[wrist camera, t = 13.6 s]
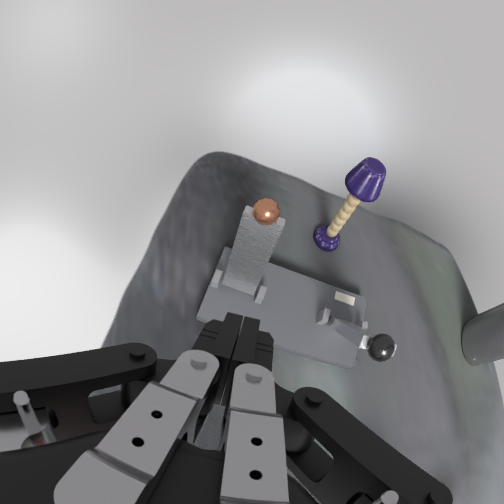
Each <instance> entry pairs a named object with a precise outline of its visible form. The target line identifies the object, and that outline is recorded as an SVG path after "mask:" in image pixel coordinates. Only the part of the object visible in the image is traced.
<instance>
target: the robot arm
mask: <svg viewBox="0 0 504 504" xmlns="http://www.w3.org/2000/svg"><path fill="white" fill-rule="evenodd" d="M242 320H243V315H239V314H235V313H231V312H227V314H226V317H225V319H224V321H219V320H215V319H213V320H211V321H209V322H207V323H206V324H205V326H204V328H203V330H202V331H201V333H200V335H199V337H198V339H197V340H196V342H195V344H194V346H193V348H192V349H191V350H189V351H186V352H184V353H182V354H181V356H180V357H179V358H178V360H165V359H157V354H156V352H155V350H154V349H153V348H151V347H149V346H148V345H145V344H142V343H127V344H122V345H117V346H111V347H106V348H100V349H95V350H89V351H83V352H76V353H71V354H64V355H56V356H49V357H43V358H34V359H26V360H17V361H8V362H0V504H318V503H317V502H316V501H315V500H314V498H313V497H312V496H311V495H310V494H309V493H308V492H307V491H306V490H305V489H304V487H303V486H302V485H301V484H300V483H299V482H297V481H296V480H295V479H294V478H292V477H291V476H290V475H288V474H287V467H288V469H289V470H290V471H291V472H292V473H293V474H294V475H295V476H296V477H297V478H298V479H299V480H300V482H301V483H302V484H303V485H304V486H305V487H306V488H307V489H308V490H309V491H310V492H311V493H312V494H313V495H314V496H315V497H316V498H317V499H318V500H319V501H320V502H321V503H322V504H452V502H453V498H452V494H451V492H450V490H449V489H448V488H447V487H446V486H445V485H444V484H442V483H441V482H439V481H438V480H436V479H435V478H434V477H432V476H431V475H429V474H428V473H427V472H425V471H424V470H422V469H421V468H420V467H418V466H417V465H416V464H414V463H413V462H411V461H410V460H409V459H407V458H406V457H405V456H403V455H402V454H401V453H399V452H398V451H397V450H396V449H394V448H393V447H392V446H390V445H389V444H388V443H386V442H385V441H384V440H383V439H381V438H380V437H379V436H378V435H376V434H375V433H374V432H373V431H371V430H370V429H369V428H368V427H366V426H365V425H364V424H363V423H361V422H360V421H359V420H358V419H356V418H355V417H354V416H353V415H352V414H350V413H349V412H348V411H347V410H346V409H344V408H343V407H342V406H341V405H340V404H338V403H337V402H336V401H335V400H334V399H333V398H331V397H330V396H329V395H328V394H327V393H325V392H324V391H322V390H320V389H317V388H313V387H303V388H300V389H298V390H296V392H295V393H293V392H290V391H288V390H286V389H284V388H282V387H280V386H279V385H278V384H276V383H275V381H274V376H273V374H272V373H271V372H272V359H273V344H274V339H273V338H272V336H271V334H270V333H268V332H264V331H260V330H259V326H260V320H259V319H255V318H251V317H247V316H245V317H244V320H243V324H242ZM241 324H242V327H241ZM240 329H241V330H240ZM239 333H240V334H239ZM462 348H463V353H464V355H465V358H466V360H467V361H468V362H469V363H470V364H471V365H474V366H475V365H480V364H484V363H488V362H493V361H496V360H500V359H504V303H503V304H501V305H498V306H496V307H494V308H492V309H490V310H487V311H485V312H483V313H480V314H478V315H475V316H474V319H471V320H469V321H468V322H467V323H466V325H465V327H464V329H463V333H462ZM226 381H227V382H226ZM225 384H226V387H225ZM116 385H120V390H119V391H115V392H110V393H106V394H102V395H98V396H93V397H89V398H88V396H89V394H90V393H91V392H93V391H95V390H99V389H104V388H108V387H112V386H116ZM224 388H225V391H224ZM223 391H224V395H223V399H222V404H221V405H223V406H226V407H225V411H224V416H223V419H222V424H221V431H220V437H219V444H218V450H204V449H200V448H198V447H196V443H197V441H198V439H199V437H200V435H201V433H202V430H203V428H204V426H205V424H206V422H207V420H208V417H209V413H210V411H211V410H212V407H213V404H214V403H215V404H218V405H219V404H220V401H221V398H222V394H223ZM314 439H316V440H317V441H318V442H320V443H321V444H322V445H323V446H324V447H325V448H326V449H327V450H328V451H329V452H330V453H331V454H332V456H333V458H334V460H333V459H332V458H331V457H330V456H329V455H328V454H327V453H326V452H325V451H324V450H323V449H322V448H321V447H320V446H319V445H317V444H316V443H315V442H314Z"/></svg>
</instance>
